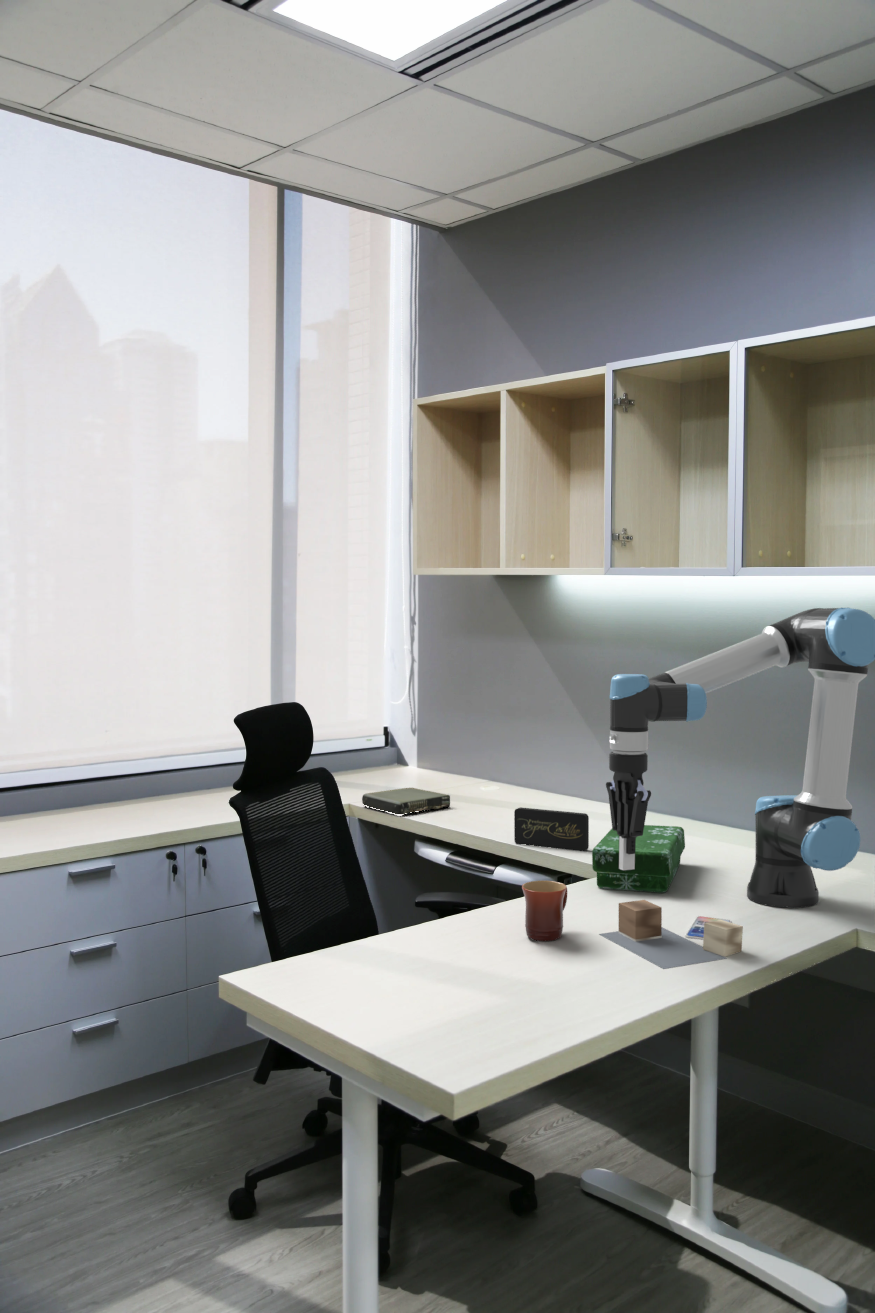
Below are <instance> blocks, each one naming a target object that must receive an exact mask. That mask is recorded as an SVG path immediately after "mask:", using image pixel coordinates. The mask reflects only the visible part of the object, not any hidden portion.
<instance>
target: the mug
mask: <svg viewBox="0 0 875 1313" xmlns="http://www.w3.org/2000/svg"><path fill="white" fill-rule="evenodd" d="M521 889H522V892H523V896H524V899H525V900H524V901H525V915H524V916H525V918H524V923H525V924H524V927H525V934H526V936H527V937H528V938H529V939H530V940H532V941H535V942H554V941H557V940H559V939H561V937H562V936H563V930H564V910H565V908H566V906H567V901H568V888H567V885H566V884H565V883H562V882H558V881H553V880H552V881H551V880H534V881H533V880H532V881H527V882H525V883H523V884H522V885H521Z"/></svg>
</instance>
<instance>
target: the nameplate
mask: <svg viewBox="0 0 875 1313" xmlns="http://www.w3.org/2000/svg"><path fill="white" fill-rule="evenodd" d="M513 812H514V822H513V824H514V825H513V826H514V827H513V828H514V832H513V833H514V836H513V837H514V843H515V844H516V845H521V844H526V845H525V846H530V845H534V847H539V846H541V847H540V848H548V847H551V848H550V849H557V848H558V849H557V850H559V849H560V850H567V851H576V852H577V851H578V852H586V851H587V850H588V849H589V846H590V842H589V838H590V837H589V834H590V833H589V829H590V827H589V825H590V824H589V820H590V819H589V814H587V813H585V812H583V813H582V812H575V811H574V812H573V811H562V810H554V809H551V810H550V809H541V808H531V807H517V808H515V809H514V811H513Z"/></svg>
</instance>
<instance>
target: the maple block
mask: <svg viewBox="0 0 875 1313" xmlns="http://www.w3.org/2000/svg"><path fill="white" fill-rule="evenodd" d="M743 926H744V925H740V924H738V923H737V924H736V923H733V922H732V923H730V922H727V921H724V920H717V921H712V922H707V923H704V939H703V940H702V942H703V944H702V945H703V946H702V947H703V950H706V951H709V952H712V953H715V954H718V955H721V956H723V957H729V956H731V955H734V954H737V953H741V952H742V950H743V947H742V946H743V935H744V934H743V933H744V932H743V930H744V927H743Z"/></svg>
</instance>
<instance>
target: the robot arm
mask: <svg viewBox="0 0 875 1313" xmlns="http://www.w3.org/2000/svg"><path fill="white" fill-rule="evenodd" d="M874 661H875V618H874V617H873V615H871V614H870V613H868V611H864V610H861V609H859V608H851V607H836V608H835V607H832V608H831V607H830V608H829V607H828V608H827V607H826V608H821V607H819V608H817V607H816V608H815V607H814V608H810V609H807V610H803V611H800V612H798V613H796V614H793V615H791V616H788V617H785V618H784V619H782V620H779V621H776V622H775V623H773V624H772V623H771V624H770V625H766V626H765V627H764V628H763V629H762V631H761V633H759V634H757V635H755V636H752V637H750V638H747V639H744V640H743V641H739V642H738V643H735V644H734V643H733V645H730V646H727V647H724V648H722V649H720V650H718V651H715V652H711V653H709V654H707V655H704V656H703V657H700V658H697V659H695V660H692V661H689V662H687V663H684V664H682V665H679V666H677V667H674V668H672V669H669V670H667V671H665V672H662V673H660V674H657V675H654V676H652V677H648V675H646V674H641V673H640V674H637V673H619V674H618V673H617V674H615V675H613V676H612V677H611V681H610V688H609V689H610V691H609V707H610V708H609V720H610V721H609V725H610V726H609V749H610V750H611V751H610V753H609V757H608V758H609V759H608V764H609V766H608V768H609V770H610V771H611V772H613V775H612V776H613V777H612V780H611V781H607V782H606V783H605V788H606V790H607V793H608V803H609V811H610V812H609V813H610V819H611V827H612V828H611V829H613V830H614V831H617V834H618V835H619V869H621V870H632V869H635V848H636V847H635V846H636V837H638V836H642V835H643V830H644V825H646V817H647V811H648V804H649V801H650V799H651V796H652V792H651V790H650V789H649V790H646V788H645V787H644V779H643V774H644V773H646V772H647V771H648V766H649V765H648V761H649V760H648V754H647V751H648V749H649V722H685V723H688V722H691V721H692V722H693V721H700V720H701V719H703V718H704V716H705V715H706V712H707V708H708V706H707V705H708V698H707V694H708V693H710V692H713V691H715V690H718V689H720V688H724V687H725V686H728V685H730V684H731V685H732V683H735V682H738V681H740V680H743V679H746V678H748V677H751V676H753V675H755V674H758V673H761V672H762V671H765V670H769V669H770V668H773V667H774V666H776V667H779V668H785V667H788V666H790V665H793V664H798V663H808V664H807V665H808V667H807V668H808V669H807V671H808V672H809V673H810V674H811V676H812V677H813V679H814V683H813V690H812V691H813V692H812V701H811V709H810V720H809V725H808V726H809V728H808V736H807V737H808V738H807V746H806V753H805V754H806V755H805V764H804V773H803V781H802V790H801V792H800V793H799V794H796V795H795V794H794V795H793V794H792V795H791V794H789V795H787V794H785V795H784V794H783V795H765V796H760V797H759V798H758V799H757V800H756V803H755V811H754V816H755V857H754V858H755V861H754V866H753V869H752V872H751V875H750V878H749V882H748V884H747V886H746V897H747V898H748V899H749V900H750V901H753V902H754V903H757V904H760V905H764V906H769V907H776V908H793V909H794V908H807V907H812V906H815V905H818V903H819V894H820V892H819V889H818V886H817V884H816V879H815V876H814V873H813V870H812V868H813V869H820V870H821V871H828V872H831V871H838V870H841V869H842V868H845V867H846V866H847V865H848V864H849V863H851V862H852V861H853V860H854V859H855V857H856V856H857V854H858V852H859V849H860V846H861V832H860V830H859V829H858V827H857V825H856V824H855V822H853V821H852V817H853V816H852V815H853V805H852V804H851V803H850V801H849V800H848V799H847V788H848V783H849V782H848V781H849V773H850V772H849V771H850V762H851V753H852V745H853V743H852V742H853V736H854V726H855V719H856V718H855V717H856V708H857V707H856V706H857V699H858V691H859V690H858V689H859V683H860V682H861V681H863V680H864V679H865V678H866V677H867V676H868V673H869V672H868V670H869V665H870V664H871V663H874Z"/></svg>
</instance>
